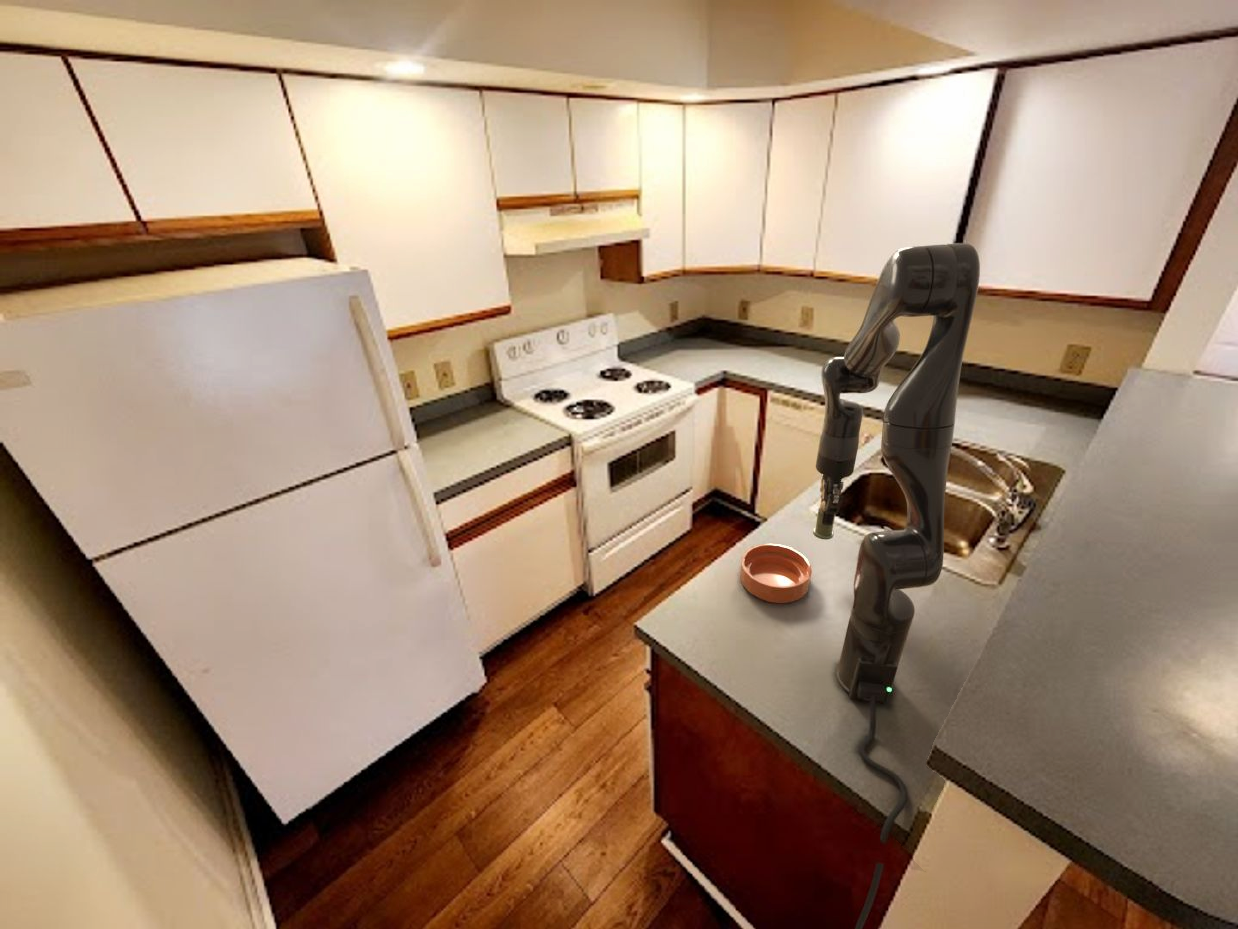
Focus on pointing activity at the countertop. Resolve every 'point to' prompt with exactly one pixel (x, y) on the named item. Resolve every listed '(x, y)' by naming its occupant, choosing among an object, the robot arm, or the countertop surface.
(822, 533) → the peg doll
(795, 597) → the bowl
